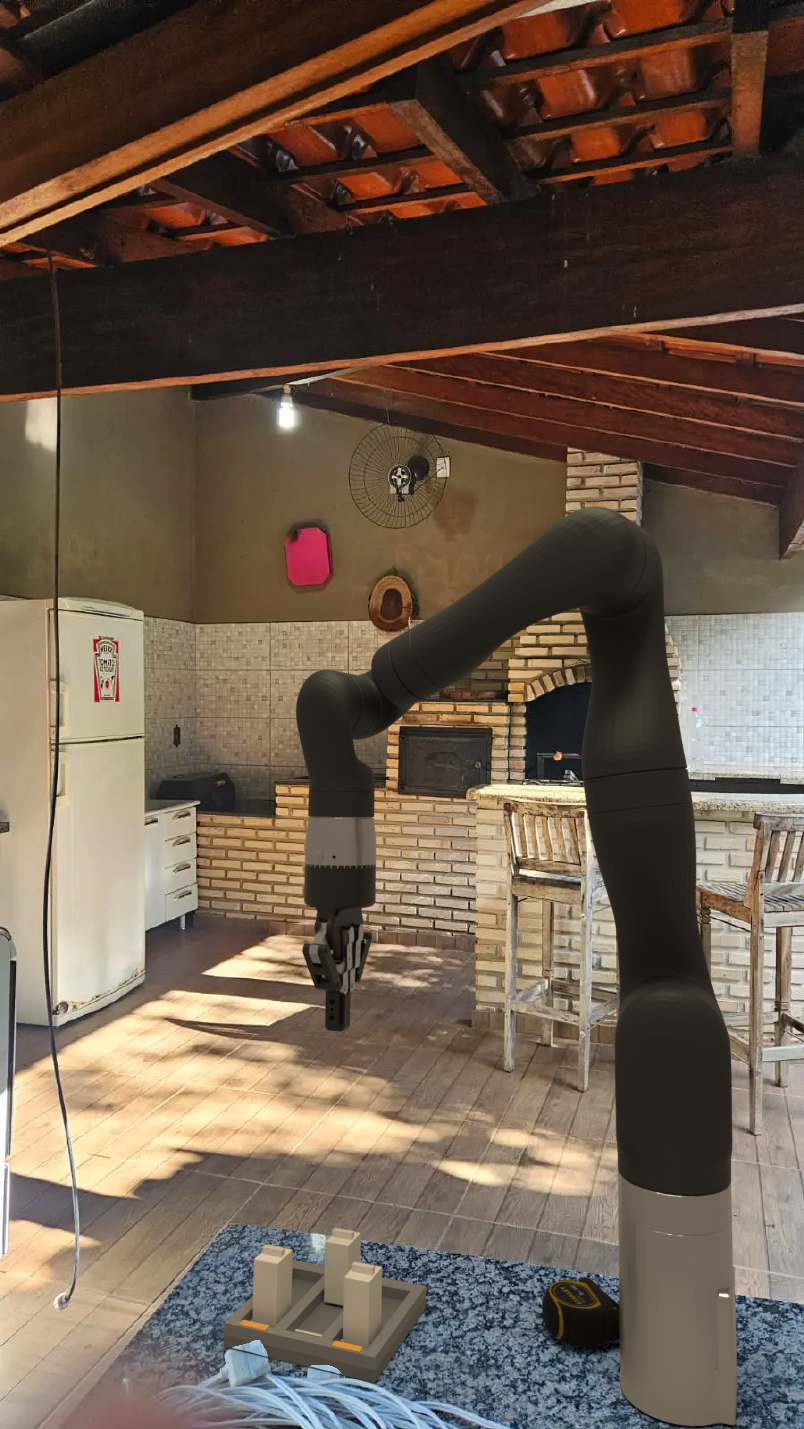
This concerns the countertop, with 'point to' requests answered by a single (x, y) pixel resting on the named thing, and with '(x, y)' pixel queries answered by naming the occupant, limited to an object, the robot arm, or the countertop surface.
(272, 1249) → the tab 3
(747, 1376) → the countertop surface
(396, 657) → the robot arm
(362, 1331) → the beige tall block
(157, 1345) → the countertop surface
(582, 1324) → the tape measure
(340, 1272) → the beige upright block
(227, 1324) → the switch board
